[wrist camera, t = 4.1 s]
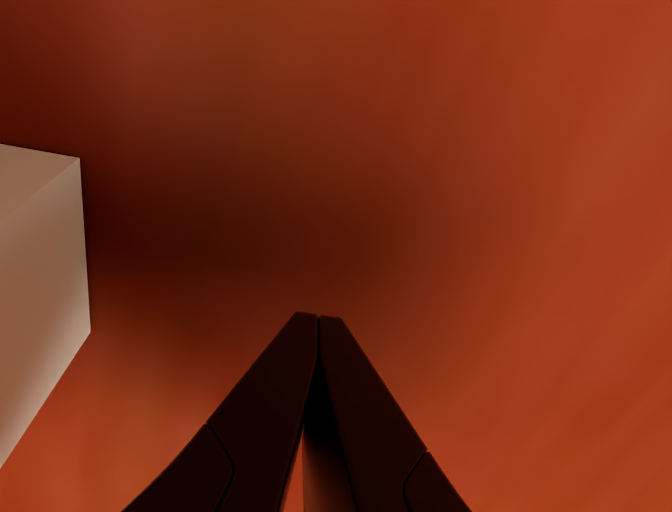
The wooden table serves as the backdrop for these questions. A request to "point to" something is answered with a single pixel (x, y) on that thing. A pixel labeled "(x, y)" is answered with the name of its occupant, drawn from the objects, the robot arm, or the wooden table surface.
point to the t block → (38, 282)
